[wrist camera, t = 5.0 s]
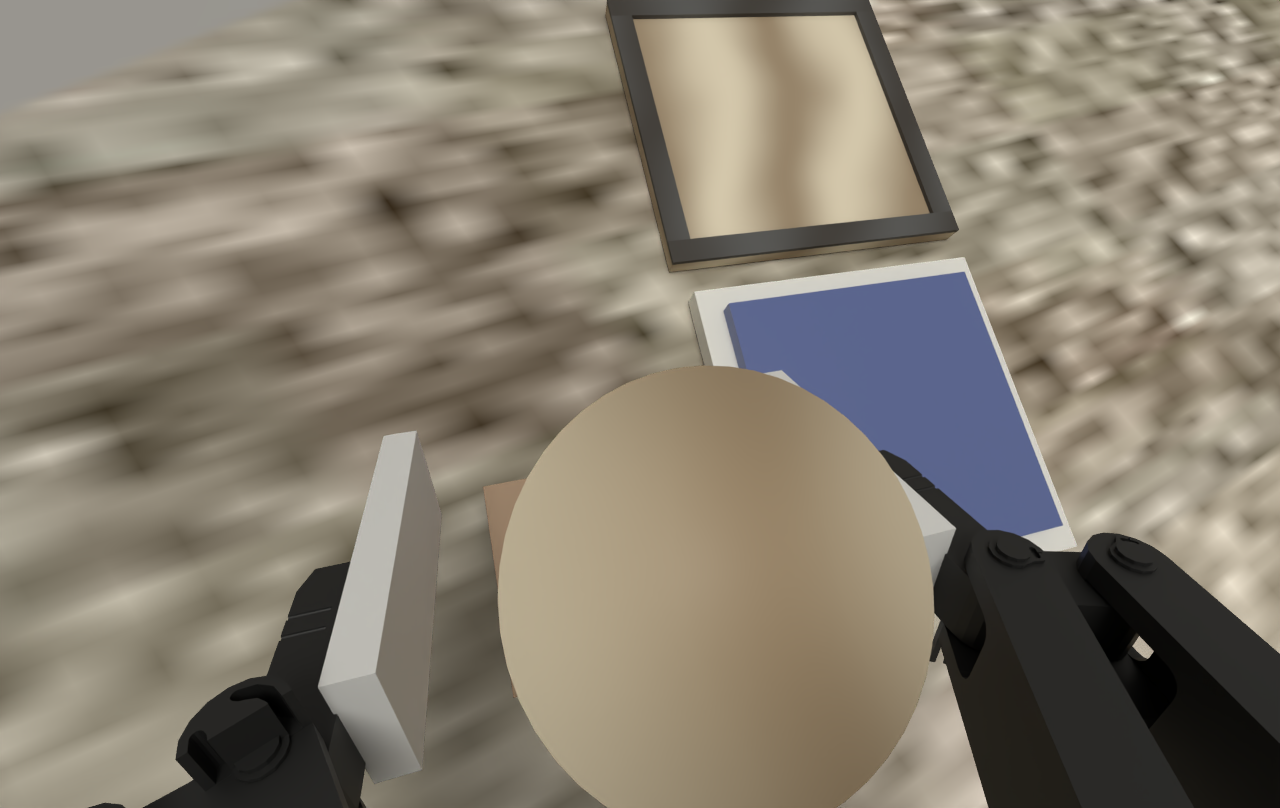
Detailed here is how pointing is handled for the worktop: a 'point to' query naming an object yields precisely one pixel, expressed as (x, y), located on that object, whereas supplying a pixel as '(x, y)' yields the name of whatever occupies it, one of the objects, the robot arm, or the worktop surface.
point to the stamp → (713, 595)
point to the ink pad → (900, 378)
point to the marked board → (773, 130)
